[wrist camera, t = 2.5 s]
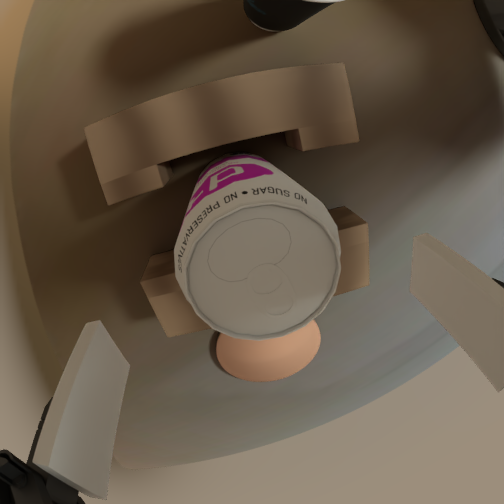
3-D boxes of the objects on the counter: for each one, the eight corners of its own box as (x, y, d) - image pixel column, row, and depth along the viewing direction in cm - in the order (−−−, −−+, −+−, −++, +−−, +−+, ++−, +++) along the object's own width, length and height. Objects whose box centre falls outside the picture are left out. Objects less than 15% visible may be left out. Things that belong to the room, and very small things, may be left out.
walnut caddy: (321, 72, 21) (343, 62, 17) (349, 261, 30) (369, 284, 26) (107, 126, 21) (83, 127, 17) (173, 307, 30) (167, 337, 26)
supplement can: (178, 178, 24) (131, 248, 11) (260, 136, 23) (317, 151, 10) (220, 250, 28) (227, 368, 14) (296, 212, 27) (369, 303, 14)
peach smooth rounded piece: (313, 290, 31) (316, 294, 30) (321, 362, 37) (323, 367, 36) (201, 319, 31) (201, 323, 30) (232, 385, 37) (232, 389, 36)
